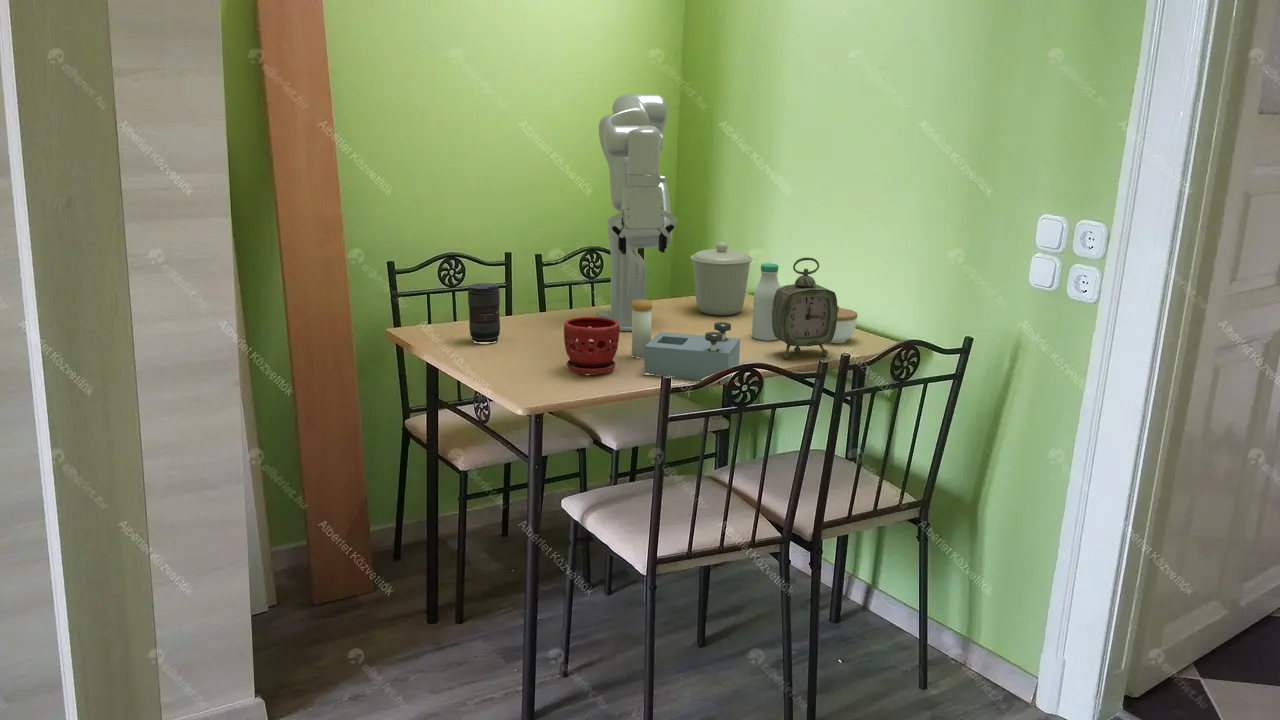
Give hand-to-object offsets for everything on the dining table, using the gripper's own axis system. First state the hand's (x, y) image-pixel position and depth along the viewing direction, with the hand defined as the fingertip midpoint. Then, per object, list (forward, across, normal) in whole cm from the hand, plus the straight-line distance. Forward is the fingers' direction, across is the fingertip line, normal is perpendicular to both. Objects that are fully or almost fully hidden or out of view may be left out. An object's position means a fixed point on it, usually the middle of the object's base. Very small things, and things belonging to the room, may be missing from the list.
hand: (642, 252), depth 243 cm
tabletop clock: (+26, -40, +7) cm, 48 cm away
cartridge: (+26, 0, 0) cm, 26 cm away
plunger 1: (+23, -12, +22) cm, 34 cm away
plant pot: (+26, +14, +9) cm, 31 cm away
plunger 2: (+23, -17, +13) cm, 31 cm away
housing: (+26, -9, +14) cm, 31 cm away
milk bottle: (+26, -37, -11) cm, 47 cm away
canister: (+26, -34, -41) cm, 60 cm away
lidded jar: (+26, -54, -4) cm, 61 cm away
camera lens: (+26, +37, -22) cm, 51 cm away
